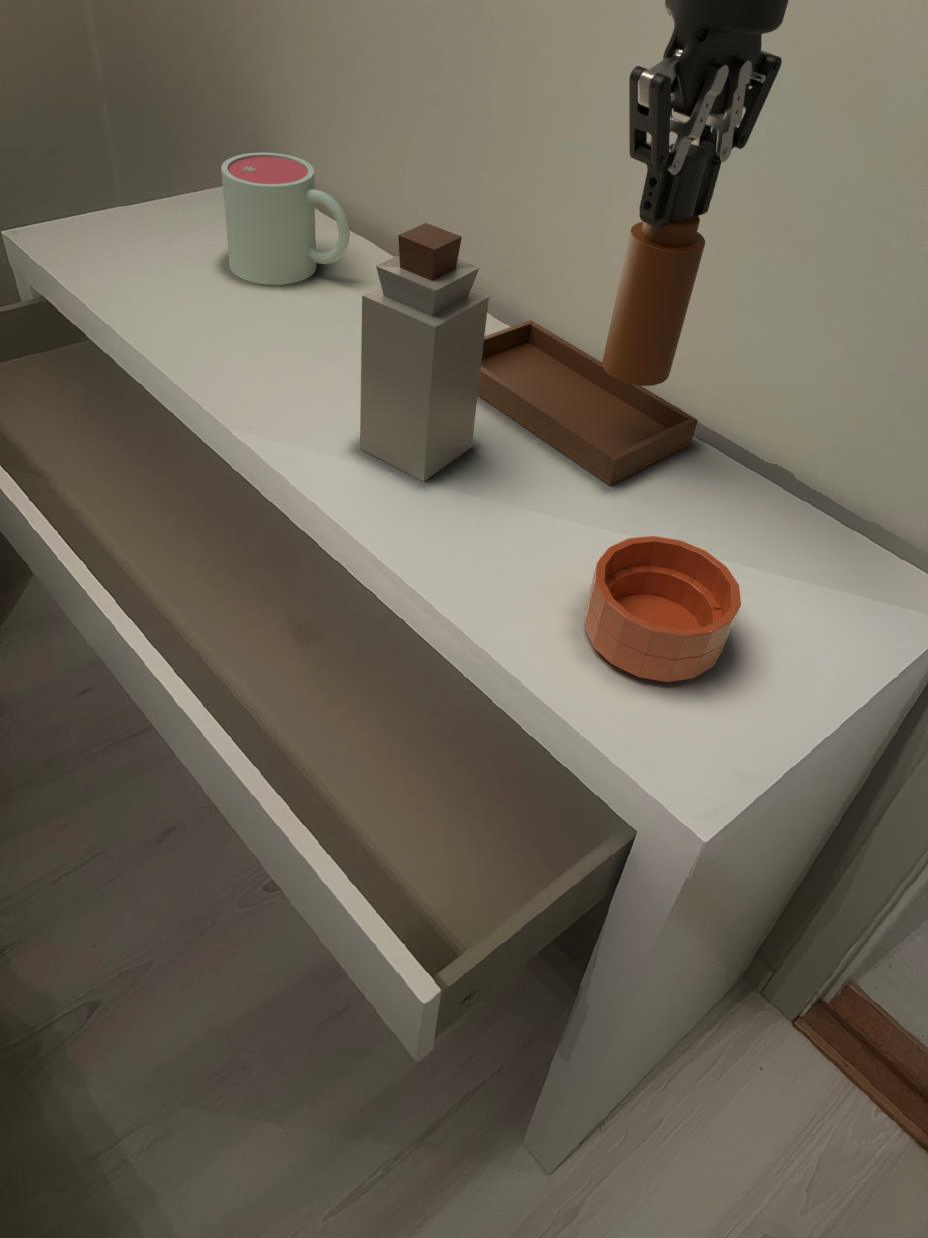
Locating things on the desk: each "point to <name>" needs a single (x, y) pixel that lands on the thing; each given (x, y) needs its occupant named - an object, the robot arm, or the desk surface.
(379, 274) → the perfume bottle
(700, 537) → the desk surface
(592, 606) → the bowl
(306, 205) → the mug
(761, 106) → the robot arm
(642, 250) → the bottle
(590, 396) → the tray
